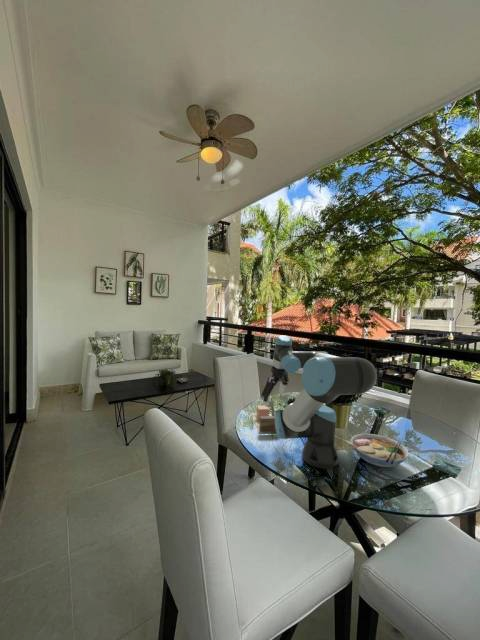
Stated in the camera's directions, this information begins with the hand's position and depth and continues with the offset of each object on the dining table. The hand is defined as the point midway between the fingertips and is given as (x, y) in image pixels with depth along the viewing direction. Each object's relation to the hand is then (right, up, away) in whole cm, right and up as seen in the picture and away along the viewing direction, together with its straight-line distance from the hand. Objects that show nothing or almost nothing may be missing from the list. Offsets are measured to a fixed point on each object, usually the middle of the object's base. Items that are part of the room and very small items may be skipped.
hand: (273, 399), depth 152 cm
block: (-4, -15, +17) cm, 23 cm away
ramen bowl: (+42, -21, -25) cm, 53 cm away
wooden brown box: (-3, -16, +11) cm, 20 cm away
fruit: (+18, -16, +28) cm, 37 cm away
